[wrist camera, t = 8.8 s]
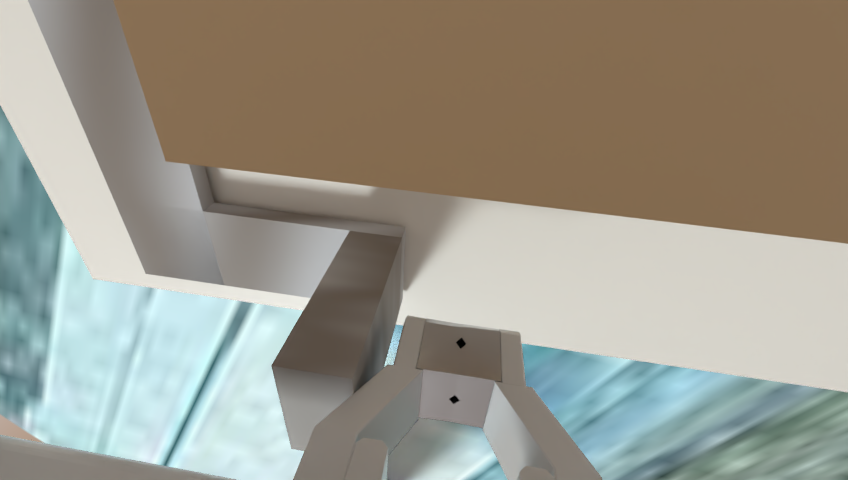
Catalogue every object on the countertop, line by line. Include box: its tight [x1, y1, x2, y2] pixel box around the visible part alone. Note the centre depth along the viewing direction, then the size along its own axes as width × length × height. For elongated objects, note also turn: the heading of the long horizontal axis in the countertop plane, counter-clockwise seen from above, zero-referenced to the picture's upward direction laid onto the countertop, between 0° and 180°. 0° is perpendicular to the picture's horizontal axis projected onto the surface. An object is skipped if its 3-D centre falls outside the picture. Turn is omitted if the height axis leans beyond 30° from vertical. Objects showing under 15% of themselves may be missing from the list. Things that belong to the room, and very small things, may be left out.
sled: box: [28, 0, 406, 451], centre depth 8 cm, size 10×15×6 cm
